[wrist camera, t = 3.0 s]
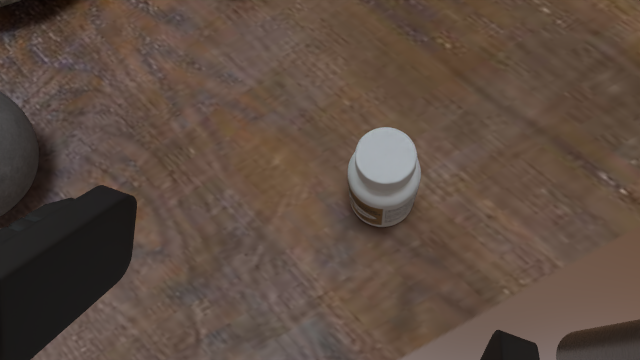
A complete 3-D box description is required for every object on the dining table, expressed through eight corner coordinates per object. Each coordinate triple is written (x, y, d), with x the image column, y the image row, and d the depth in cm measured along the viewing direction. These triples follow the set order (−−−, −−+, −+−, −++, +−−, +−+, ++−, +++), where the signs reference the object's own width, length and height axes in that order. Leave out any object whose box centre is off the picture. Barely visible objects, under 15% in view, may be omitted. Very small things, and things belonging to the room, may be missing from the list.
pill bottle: (337, 187, 37) (331, 143, 30) (391, 156, 38) (397, 105, 30) (371, 240, 36) (372, 207, 28) (426, 207, 36) (441, 166, 29)
